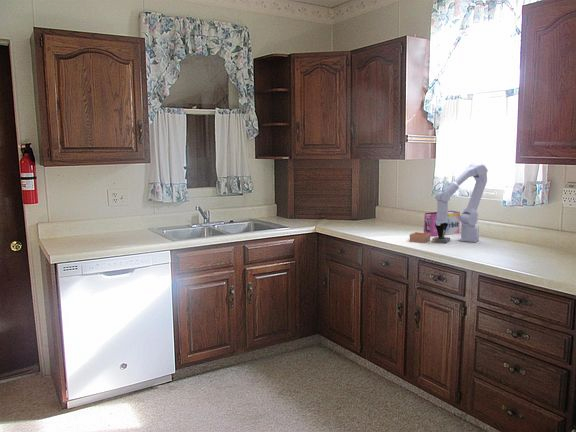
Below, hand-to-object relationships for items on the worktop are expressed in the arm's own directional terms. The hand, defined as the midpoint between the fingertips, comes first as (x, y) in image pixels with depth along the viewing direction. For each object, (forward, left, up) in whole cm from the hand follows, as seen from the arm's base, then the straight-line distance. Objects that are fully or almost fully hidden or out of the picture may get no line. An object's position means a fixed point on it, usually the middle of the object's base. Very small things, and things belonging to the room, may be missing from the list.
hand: (441, 236), depth 288 cm
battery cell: (0, 0, -3) cm, 3 cm away
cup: (+11, +4, -3) cm, 12 cm away
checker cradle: (0, 0, -3) cm, 3 cm away
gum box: (+7, -25, -3) cm, 26 cm away
